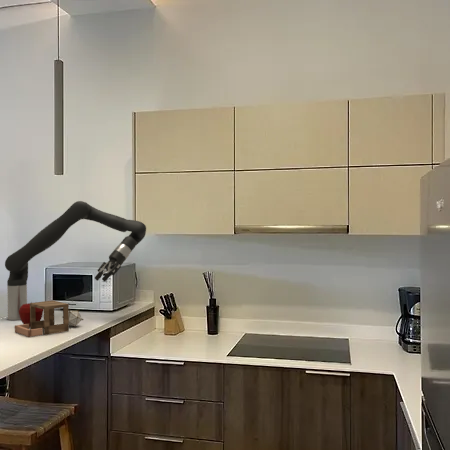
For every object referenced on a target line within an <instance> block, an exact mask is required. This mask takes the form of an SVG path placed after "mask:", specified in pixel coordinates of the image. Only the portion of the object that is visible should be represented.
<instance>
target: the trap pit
mask: <svg viewBox="0 0 450 450" xmlns="http://www.w3.org/2000/svg"><path fill="white" fill-rule="evenodd" d="M14 333H16V334H18V335H21V336H23V337H26V338H34V337H41V336H43V335H44V328H38V329H31V330H30V327H29V324H23V323H22V324H17V325H14Z"/></svg>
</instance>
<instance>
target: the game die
mask: <svg viewBox="0 0 450 450" xmlns="http://www.w3.org/2000/svg"><path fill="white" fill-rule="evenodd" d="M68 315H69V327H75V328H77V325H78V324H79V323H80V322H81V321H84V318H82V317H81V314H80V309H77V310H71V309H69V308H68ZM61 318H62V319H63V316H61Z"/></svg>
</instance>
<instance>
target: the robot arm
mask: <svg viewBox="0 0 450 450" xmlns="http://www.w3.org/2000/svg"><path fill="white" fill-rule="evenodd" d="M80 220H87V221H93V222H96V223H99V224H101V225H103V226H105V227H107V228H110V229H113V230H115V231H118V232H121V233H126V232H130V233H129V235H128V236H125V237H124V238H123V239H122V241H121V242H120V243H119V244H118V245H117V246H116V247H115V248H114V249H113V251H112V252H111V253H110V254H109V256H108V259H109V260H108V261H107V262H105V261H103V262H102V263H101V265H100V266H99V267H98V269H97V272H98V273H97V274H96V275H95V276H94V279H95V281H99V280H100V279H101V280H102V281H103V282H105V283H106V282H107V281H108V279H109V278H110V277H112V276H115V274H117V272H118V271H119V270H120V269H121V268H122V265H123V264H124V263H125V261H126V260H127V258H128V257H129V256H130V254H131V252H133V250H134V249H135V248H136V246H137V245H138V244H139V243H140V242H142V241H143V239H145V236H146V233H147V225H146V224H144V222H141V221H139V220H134V219H127V218H124V217H122V216H119V215H116V214H112V213H110V212H109V213H108V212H106V211H102V210H100V209H99V208H95V207H94V206H93V205H90V204H89V203H87V202H86V201H82V200H78V201H76V202H75V201H74V203H72V204H71V205H70V207H68V208H67V210H66V211H65V212H63V214H61V215H60V216H59V217H58V218H56V219H55V220H53V221H52V222H51V223H49V224H48V225H46V226H45V227H44V228H43V229H41V230H40V231H39V232H38V233H37V234H36V235H34V236H33V237H32V238H31V239H30V240H29V241H28V242H26V244H24V245H23V246H22V247H21V248H19V249H18V250H17V251H15V252H13V253H12V254H10V255H9V256H8V257H6V259H5V262H4V267H5V268H6V269H5V270H7V271H8V272H9V275H8V276H9V277H8V279H7V284H6V285H7V289H6V290H7V293H6V294H7V320H8V321H21V319H20V315H19V309H20V307H21V306H22V305H23V304H28V289H27V288H28V287H27V285H28V277H29V261H31V260H32V259H33V258H34V257H36V256H37V255H40V254H42V252H45V251H46V250H48V249H49V248H51V247H52V246H53V245H55V244H56V243H57V242H58V241H59V240H60V239H61V238H62V237H63V236H64V235H65V234H66V232H67V231H68V230H69V229H70V228H71V227H72V226H74V225H75V224H76V223H77V222H80Z"/></svg>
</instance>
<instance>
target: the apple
mask: <svg viewBox="0 0 450 450" xmlns="http://www.w3.org/2000/svg"><path fill="white" fill-rule="evenodd" d="M30 303H33V302H32V301H31V302H27V304H23V305H22V306H21V307H20V309H19V315H20V319H21V320H20V321H21V322H22V325H23V324H29V328H30ZM35 313H36V321H42V318H43V316H44V309H40V308H36V307H35Z"/></svg>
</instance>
